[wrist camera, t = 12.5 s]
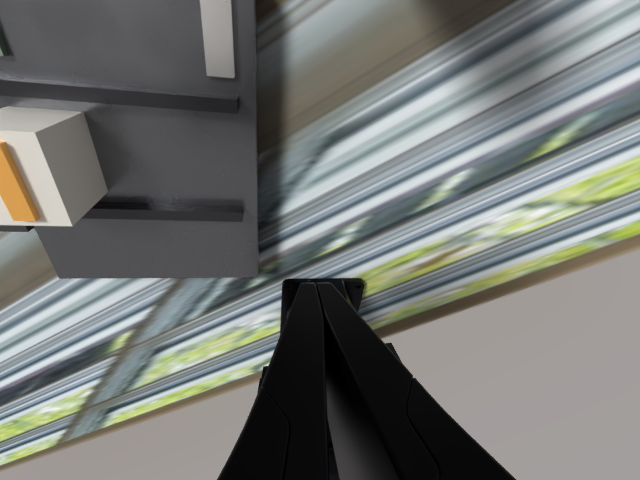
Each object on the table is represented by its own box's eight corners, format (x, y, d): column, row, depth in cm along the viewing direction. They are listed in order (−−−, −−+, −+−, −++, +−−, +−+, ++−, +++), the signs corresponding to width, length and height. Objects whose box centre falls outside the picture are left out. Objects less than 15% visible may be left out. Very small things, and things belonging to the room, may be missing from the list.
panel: (259, 259, 22) (257, 285, 20) (76, 258, 20) (51, 287, 18) (256, -27, 14) (252, -39, 11) (-66, -76, 12) (-150, -103, 9)
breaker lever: (107, 191, 16) (68, 230, 13) (44, 189, 16) (-13, 228, 13) (83, 111, 14) (29, 134, 11) (7, 106, 14) (-72, 128, 10)
